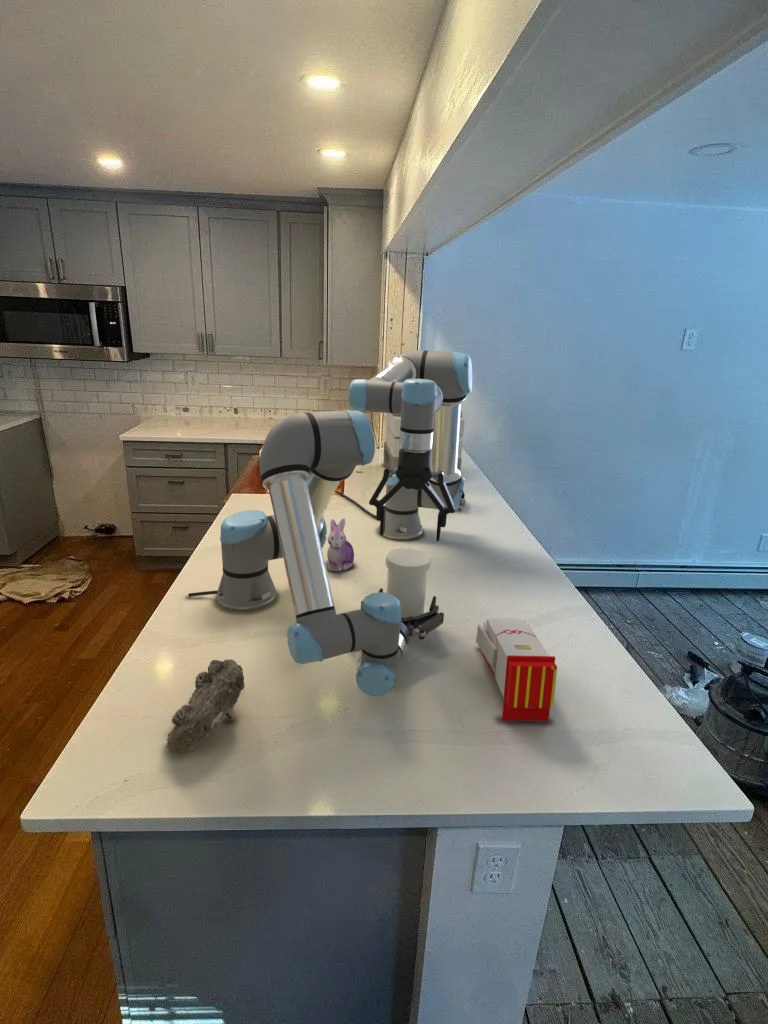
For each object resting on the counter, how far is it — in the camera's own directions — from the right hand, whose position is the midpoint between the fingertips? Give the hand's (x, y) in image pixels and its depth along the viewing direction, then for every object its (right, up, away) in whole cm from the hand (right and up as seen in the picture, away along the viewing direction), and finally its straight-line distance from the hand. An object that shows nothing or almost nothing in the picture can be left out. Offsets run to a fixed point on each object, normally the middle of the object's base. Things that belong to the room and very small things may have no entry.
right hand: (409, 536), depth 136 cm
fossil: (-39, -33, -28) cm, 58 cm away
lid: (0, -5, +2) cm, 6 cm away
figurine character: (+23, +8, +94) cm, 97 cm away
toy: (+21, -31, -12) cm, 39 cm away
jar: (-1, -22, +8) cm, 24 cm away
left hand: (0, -16, +7) cm, 17 cm away
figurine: (-20, -11, +37) cm, 44 cm away
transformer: (+11, +25, +139) cm, 142 cm away
